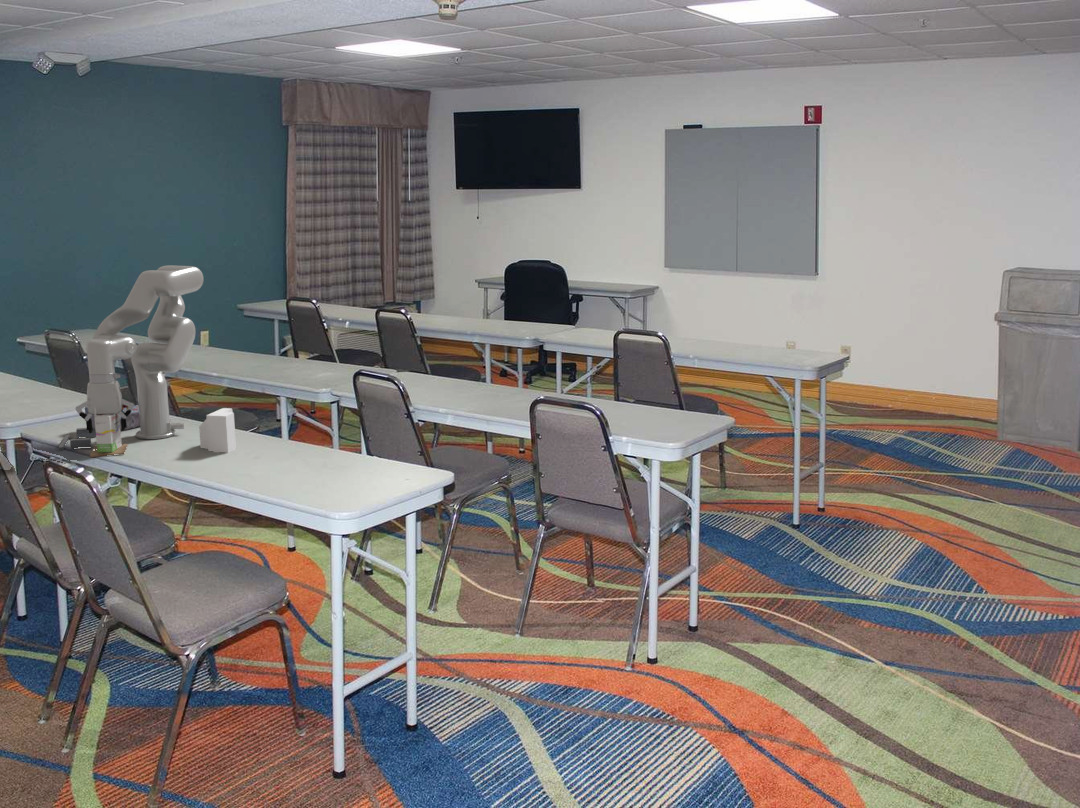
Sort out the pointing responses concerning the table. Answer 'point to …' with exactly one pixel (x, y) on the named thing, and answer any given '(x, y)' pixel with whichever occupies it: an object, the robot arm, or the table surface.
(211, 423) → the white chunky block
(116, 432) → the ink box
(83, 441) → the vise jaws
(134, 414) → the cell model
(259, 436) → the table surface
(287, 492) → the table surface
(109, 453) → the walnut board
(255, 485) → the table surface
